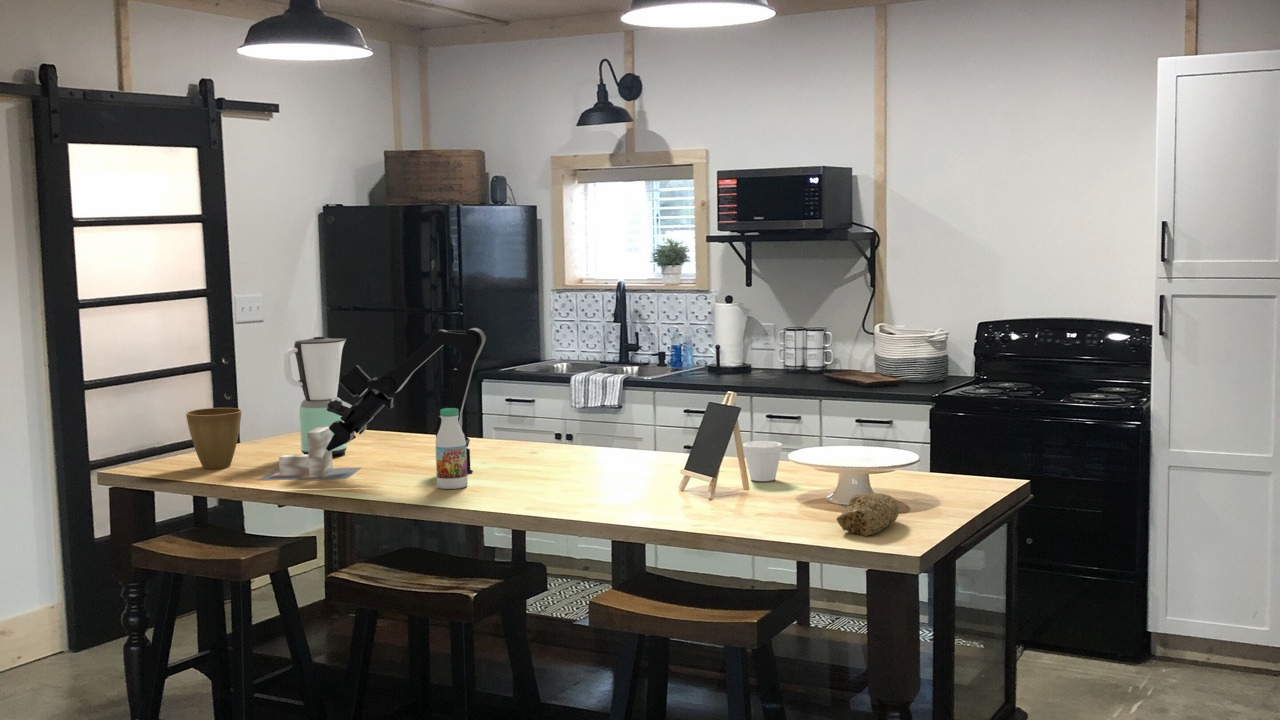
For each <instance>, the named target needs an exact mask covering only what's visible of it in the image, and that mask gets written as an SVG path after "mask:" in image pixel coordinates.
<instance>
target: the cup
mask: <svg viewBox="0 0 1280 720" xmlns="http://www.w3.org/2000/svg"><path fill="white" fill-rule="evenodd" d="M742 449H743V452H744V457H745V460H746V464H747V469H748V472H749V473H748V474H749V478H750V481H752V482H755V483H771V482H774V481H775V480H776V478H777V473H778V468H779V463H780V459H781V454H782V450H783V444H782V442H778V441H774V440H755V441H753V440H752V441H747V442H744V443H743V444H742Z"/></svg>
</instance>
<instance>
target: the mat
mask: <svg viewBox="0 0 1280 720" xmlns="http://www.w3.org/2000/svg"><path fill="white" fill-rule="evenodd" d="M361 469H362V467H333V470H332V471H331V472H329V473H328V474H326V475H325V476H323V477H310V476H309V475H280V468H276V469H274V470H272V471H270V472H269V473H267V474H266V475H264V476H261V477H260V478H258V479H257V481H292V480H293V481H299V480H301V481H302V480H304V481H305V480H347V479H349V478H350V477H351V476H353V475H354V474H356V473H357V472H358V471H359V470H361Z"/></svg>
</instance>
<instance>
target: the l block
mask: <svg viewBox="0 0 1280 720" xmlns="http://www.w3.org/2000/svg"><path fill="white" fill-rule="evenodd" d="M307 437H308V454H282V455H280V456H279V457H278V464H279V465H278V466H279V469H280V475H309V476H310V477H323V476H325V475H326V474H328V473H329V472H331V471H332V470H333V468H334V466H333V455H332V450H331V451H328V450H327V449H326V448H327V446H328V444H329V442H330V441H331V430H330V429H329V427H317V428H315V429H313V430H311V431H309V432H308V433H307Z"/></svg>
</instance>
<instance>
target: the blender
mask: <svg viewBox="0 0 1280 720" xmlns="http://www.w3.org/2000/svg"><path fill="white" fill-rule="evenodd" d="M346 341H347V338H331V337H326V336H315V337H312V338H308V339H300V340H295V342H294V346H293V347H291V348H288V349H286V351H284V354H283V366H284V367H283V368H284V375H285V376H284V377H285V379H286V382H287V383H288V384H289V385H291V386H294V387H300V388H301V389H302V391H303V395H304V398H305V399H303V401H302V402H301V403H300V406H299V424H300V448H301V449H300V450H301V451H300V452H301V453H302V455H304V454H308V437H307V433H308V432H309V431H311V430H313V429H315V428H317V427H330V426H331V425H332V423H334V422H335V421H342V420H341V419H340V418H341V417H342V416H340V415H337V414H335V413H333V412H329V411H327V407H328V403H329V402H330V400H331V399H332V398H337V399H340V400H342V399H341V398H340V397H338V391H339V384H340V383H339V381H340V373H341V364H342V354H343V350H344V349H343V348H344V345H345V343H346ZM292 354H295V358H296V363H297V369H298V375H299V380H298V381H297V380H294V378H293V375H292V374H293V373H292V367H291V366H292V365H291V355H292ZM342 422H344V421H342ZM333 435H334V433H333V432H332V431H331V439H332V437H333ZM347 445H348V443H346V444H343V445H341V446H339V447H337V448H335V449H333V450H332V456H334V455H339V457H343V455H344V456H345V455H346V451H347V449H348V447H347Z"/></svg>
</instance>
